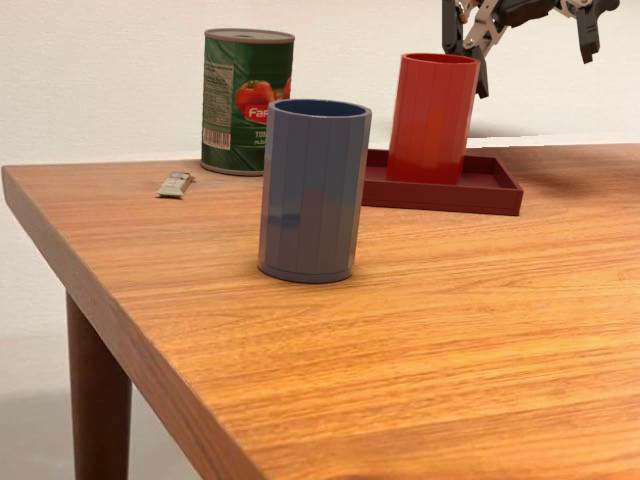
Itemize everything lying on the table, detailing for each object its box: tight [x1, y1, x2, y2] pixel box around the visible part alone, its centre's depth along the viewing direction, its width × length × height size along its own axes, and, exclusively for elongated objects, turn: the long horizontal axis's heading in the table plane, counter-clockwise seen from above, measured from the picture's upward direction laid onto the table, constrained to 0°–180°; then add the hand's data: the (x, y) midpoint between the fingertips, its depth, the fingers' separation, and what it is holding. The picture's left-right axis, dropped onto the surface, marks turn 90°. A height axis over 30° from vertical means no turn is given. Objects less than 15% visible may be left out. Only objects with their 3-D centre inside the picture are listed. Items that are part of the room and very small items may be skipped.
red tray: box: [361, 147, 525, 217], centre depth 84 cm, size 15×13×2 cm
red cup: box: [385, 52, 481, 185], centre depth 82 cm, size 6×6×10 cm
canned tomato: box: [199, 27, 296, 177], centre depth 87 cm, size 8×8×11 cm
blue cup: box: [257, 98, 373, 284], centre depth 63 cm, size 6×6×10 cm
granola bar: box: [155, 171, 196, 198], centre depth 81 cm, size 7×1×3 cm
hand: (533, 75), depth 81 cm, fingers open, 8 cm apart
